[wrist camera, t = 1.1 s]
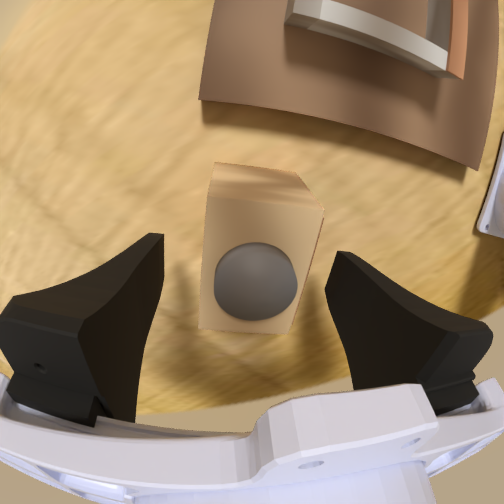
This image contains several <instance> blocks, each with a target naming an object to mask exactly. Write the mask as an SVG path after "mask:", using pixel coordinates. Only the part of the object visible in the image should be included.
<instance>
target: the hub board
mask: <svg viewBox="0 0 504 504" xmlns="http://www.w3.org/2000/svg"><path fill="white" fill-rule="evenodd" d="M498 47H499V13H498V0H215V3H214V8H213V13H212V18H211V23H210V28H209V34H208V39H207V45H206V51H205V57H204V64H203V70H202V77H201V84H200V91H199V98H198V100H207V101H218V102H228V103H237V104H245V105H252V106H259V107H266V108H272V109H278V110H284V111H289V112H295V113H300V114H305V115H309V116H314V117H319V118H323V119H328V120H332V121H336V122H340V123H344V124H348V125H352V126H355V127H359V128H362V129H366V130H369V131H373V132H376V133H380V134H383V135H386V136H389V137H392V138H395V139H398V140H401V141H404V142H407V143H410V144H413V145H416V146H418V147H421V148H424V149H426V150H429V151H432V152H434V153H437V154H439V155H442V156H444V157H447V158H449V159H452V160H454V161H456V162H459V163H461V164H463V165H465V166H468V167H470V168H472V169H474V170H476V171H478V169H479V165H480V162H481V158H482V154H483V150H484V146H485V142H486V137H487V133H488V128H489V123H490V118H491V112H492V106H493V100H494V93H495V85H496V76H497V65H498Z"/></svg>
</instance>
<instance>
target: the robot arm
mask: <svg viewBox="0 0 504 504" xmlns="http://www.w3.org/2000/svg"><path fill="white" fill-rule="evenodd" d="M477 230H479V231H480V232H482V233H486V234H489V235H493V236H497V237H500V238H504V135H503V139H502V144H501V148H500V152H499V156H498V160H497V164H496V168H495V171H494V175H493V178H492V182H491V185H490V188H489V191H488V194H487V197H486V200H485V203H484V206H483V209H482V212H481V214H480V217H479V220H478V222H477ZM163 281H164V234H158V233H148V234H147V235H145V236H144V237H142V238H141V239H140V240H138V241H137V242H135V243H134V244H133V245H131V246H130V247H129V248H127V249H126V250H124V251H123V252H122V253H120V254H118V255H117V256H115V257H114V258H112V259H111V260H109V261H108V262H106V263H104V264H103V265H101V266H99V267H97V268H96V269H94V270H92V271H90V272H88V273H86V274H84V275H81V276H79V277H77V278H74V279H72V280H69V281H67V282H65V283H62V284H59V285H56V286H53V287H50V288H46V289H43V290H39V291H35V292H31V293H26V294H21V295H16V296H13V297H12V299H11V300H10V302H9V303H8V304H7V306H6V307H5V309H4V310H3V311H2V313H1V314H0V349H1V350H2V352H3V354H4V356H5V357H6V359H7V361H8V362H9V364H10V366H11V367H12V369H13V370H14V374H13V376H12V378H11V380H10V378H8V377H7V376H6V375H5V374H3V373H1V372H0V461H2V462H4V463H6V464H7V465H10V466H11V467H13V468H15V469H17V470H19V471H21V472H23V473H25V474H27V475H29V476H31V477H33V478H35V479H38V480H40V481H42V482H44V483H47V484H49V485H51V486H54V487H56V488H58V489H61V490H63V491H66V492H68V493H71V494H74V495H77V496H79V497H82V498H85V499H88V500H91V501H94V502H98V503H101V504H437V503H436V500H435V496H434V493H433V490H432V487H431V484H430V481H429V478H430V477H432V476H434V475H436V474H438V473H440V472H442V471H444V470H446V469H448V468H450V467H452V466H454V465H455V464H457V463H459V462H461V461H463V460H464V459H466V458H468V457H470V456H472V455H473V454H475V453H477V452H478V451H480V450H482V449H483V448H484V447H485V446H487V445H488V444H489V443H491V442H492V441H493V440H494V439H496V438H497V437H498V436H499V435H500V434H501V433H503V432H504V393H503V391H502V389H501V387H500V386H499V384H498V382H497V381H496V379H495V378H494V377H493V378H490V379H487V380H485V381H482V382H480V383H478V384H477V385H476V386H475V385H474V384H473V382H472V380H474V379H475V374H474V372H473V371H472V370H473V369H474V368H475V367H476V365H477V364H478V363H479V362H480V360H481V359H482V358H483V357H484V355H485V354H486V352H487V351H488V349H489V348H490V346H491V344H492V340H493V332H492V331H491V330H490V329H489V327H488V326H487V325H486V324H485V323H484V322H481V321H478V320H474V319H471V318H467V317H464V316H461V315H458V314H455V313H453V312H450V311H447V310H445V309H442V308H440V307H438V306H436V305H434V304H432V303H430V302H427V301H426V300H424V299H422V298H420V297H418V296H416V295H415V294H413V293H411V292H409V291H408V290H406V289H404V288H403V287H401V286H400V285H398V284H397V283H395V282H394V281H392V280H391V279H389V278H388V277H387V276H385V275H384V274H382V273H381V272H380V271H378V270H377V269H375V268H374V267H373V266H371V265H370V264H368V263H367V262H366V261H364V260H363V259H361V258H360V257H358V256H356V255H355V254H353V253H351V252H345V251H337V254H336V257H335V260H334V263H333V266H332V269H331V272H330V275H329V278H328V281H327V284H326V286H325V294H326V299H327V303H328V307H329V310H330V313H331V315H332V318H333V321H334V323H335V326H336V328H337V331H338V334H339V336H340V339H341V341H342V344H343V347H344V349H345V353H346V356H347V360H348V364H349V368H350V373H351V378H352V383H353V389H354V390H353V391H343V392H332V393H318V394H311V395H306V396H300V397H295V398H290V399H288V400H285V401H283V402H281V403H278V404H276V405H274V406H271V407H270V408H269V409H268V410H267V411H266V412H265V413H264V414H263V415H262V416H261V417H260V418H259V419H258V420H257V421H256V424H255V427H254V429H253V431H252V432H245V433H231V432H228V433H227V432H206V431H193V430H182V429H173V428H172V429H171V428H164V427H157V426H150V425H143V424H137V423H135V417H136V405H137V395H138V386H139V378H140V371H141V365H142V359H143V353H144V348H145V344H146V340H147V336H148V333H149V330H150V327H151V324H152V321H153V318H154V315H155V312H156V309H157V306H158V303H159V300H160V296H161V291H162V287H163Z"/></svg>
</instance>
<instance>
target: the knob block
mask: <svg viewBox="0 0 504 504" xmlns="http://www.w3.org/2000/svg"><path fill="white" fill-rule="evenodd" d="M324 211H325V210H324V209H323V207H322V206H321V205H320V203H319V202H318V201H317V199H316V198H315V197H314V195H313V194H312V193H311V191H310V190H309V189H308V187H307V186H306V185H305V184H304V182H303V181H302V180H301V178H300V177H299V176H298V175H297V173H295V172H289V171H282V170H276V169H269V168H261V167H253V166H245V165H237V164H228V163H219V162H215V164H214V168H213V173H212V177H211V182H210V186H209V191H208V195H207V205H206V216H205V228H204V240H203V253H202V268H201V284H200V302H199V323H198V329H203V330H215V331H228V332H244V333H263V334H288V333H289V330H290V327H291V324H293V321H294V318H295V315H296V312H297V309H298V306H299V302H300V299H301V296H302V293H303V290H304V286H305V283H306V280H307V276H308V273H309V270H310V266H311V263H312V259H313V256H314V253H315V249H316V245H317V242H318V238H319V235H320V231H321V227H322V224H323V220H324V218H323V215H324Z"/></svg>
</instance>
